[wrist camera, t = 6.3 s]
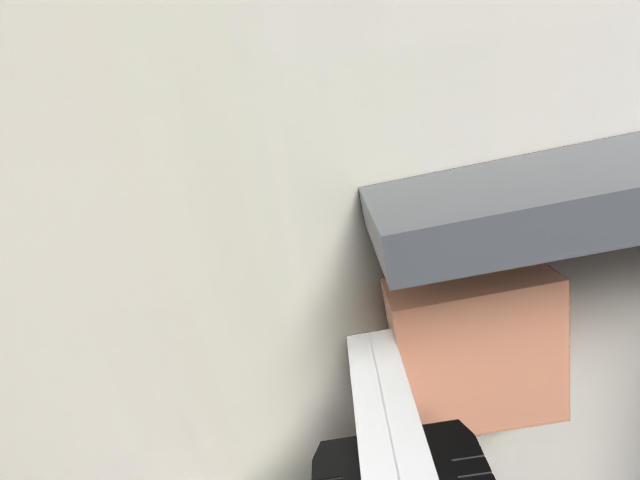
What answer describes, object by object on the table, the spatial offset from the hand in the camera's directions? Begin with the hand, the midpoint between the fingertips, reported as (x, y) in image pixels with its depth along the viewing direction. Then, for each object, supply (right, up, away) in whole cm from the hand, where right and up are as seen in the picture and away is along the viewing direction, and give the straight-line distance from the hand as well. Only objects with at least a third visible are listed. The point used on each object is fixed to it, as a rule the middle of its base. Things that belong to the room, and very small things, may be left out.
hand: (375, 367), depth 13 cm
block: (+3, +1, +1) cm, 4 cm away
